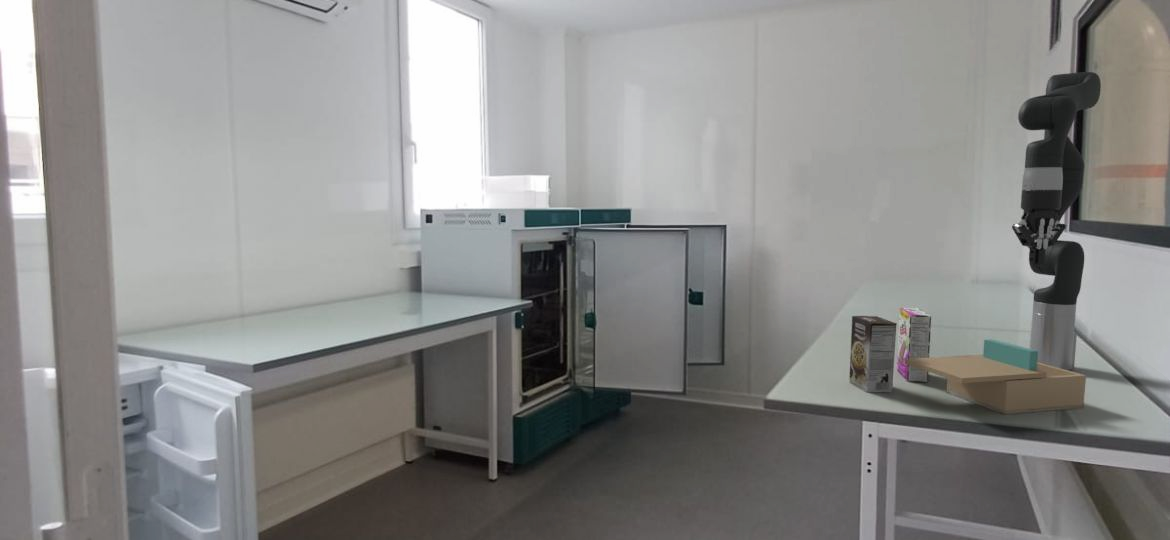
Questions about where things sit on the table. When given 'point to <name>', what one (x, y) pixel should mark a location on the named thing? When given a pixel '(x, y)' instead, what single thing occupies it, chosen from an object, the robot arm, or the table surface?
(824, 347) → the table surface
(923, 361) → the lid
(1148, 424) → the table surface
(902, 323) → the candy bar box
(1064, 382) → the mailer box
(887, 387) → the brown upright rectangular box
